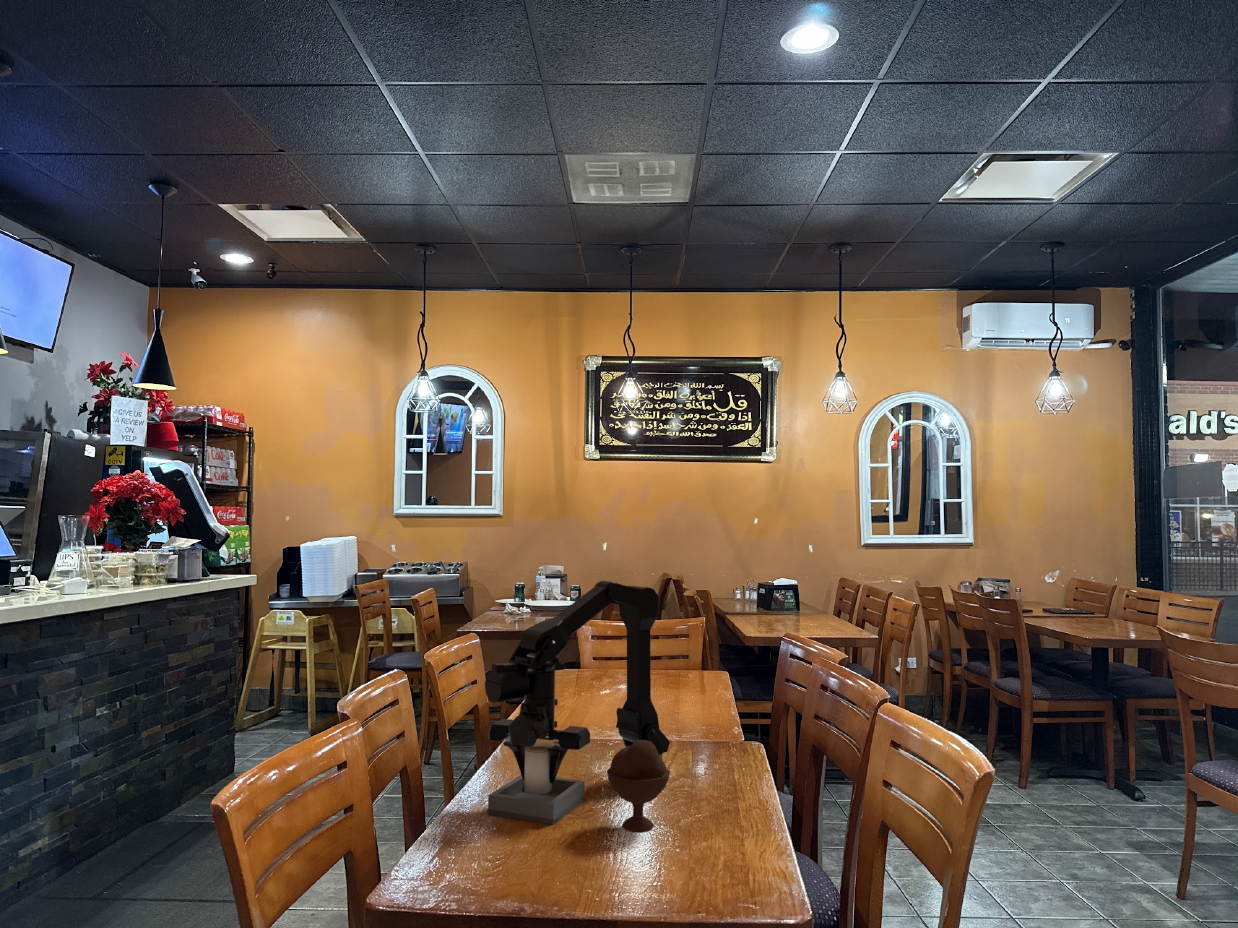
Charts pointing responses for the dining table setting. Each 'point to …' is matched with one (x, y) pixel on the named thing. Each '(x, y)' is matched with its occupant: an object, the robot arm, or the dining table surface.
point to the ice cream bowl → (638, 780)
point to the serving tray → (536, 801)
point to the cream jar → (537, 768)
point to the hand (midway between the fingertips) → (538, 780)
